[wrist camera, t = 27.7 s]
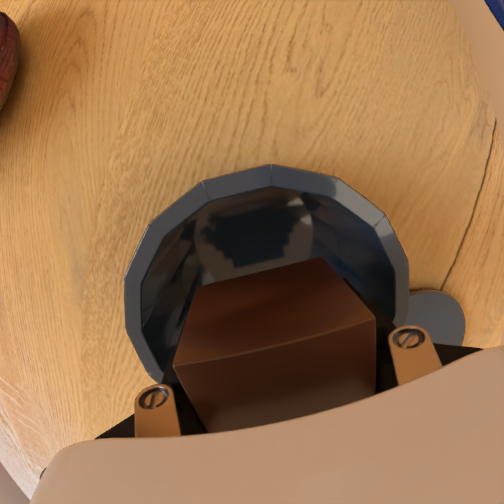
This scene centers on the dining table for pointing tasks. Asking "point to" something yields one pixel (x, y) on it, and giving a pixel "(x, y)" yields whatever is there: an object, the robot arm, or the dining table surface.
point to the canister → (256, 248)
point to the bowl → (8, 55)
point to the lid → (437, 316)
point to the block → (276, 347)
